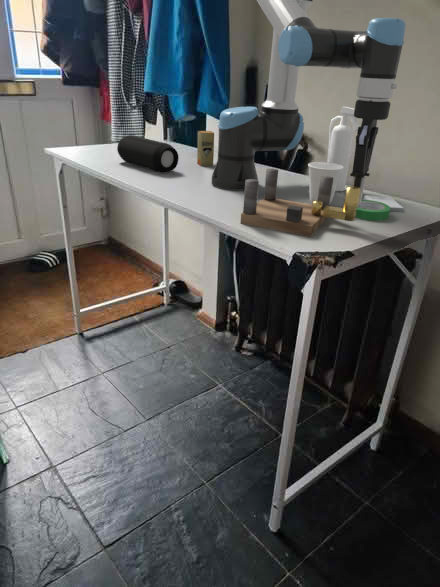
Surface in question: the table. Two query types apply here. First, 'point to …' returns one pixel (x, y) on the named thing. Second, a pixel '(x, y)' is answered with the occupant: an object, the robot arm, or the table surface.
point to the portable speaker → (148, 153)
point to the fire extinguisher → (342, 143)
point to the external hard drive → (386, 202)
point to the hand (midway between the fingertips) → (354, 202)
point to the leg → (340, 213)
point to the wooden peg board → (283, 207)
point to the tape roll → (372, 210)
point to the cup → (322, 170)
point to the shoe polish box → (205, 148)
